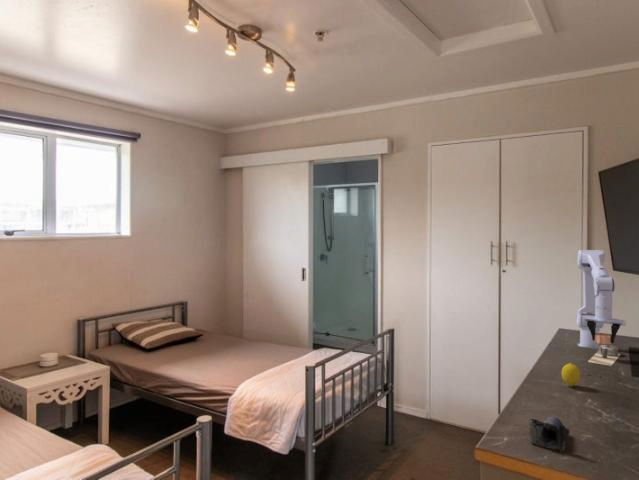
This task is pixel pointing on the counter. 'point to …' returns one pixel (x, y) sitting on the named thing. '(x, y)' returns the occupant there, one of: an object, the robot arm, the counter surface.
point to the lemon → (570, 374)
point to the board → (603, 360)
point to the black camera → (542, 433)
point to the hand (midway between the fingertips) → (603, 341)
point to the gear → (602, 338)
